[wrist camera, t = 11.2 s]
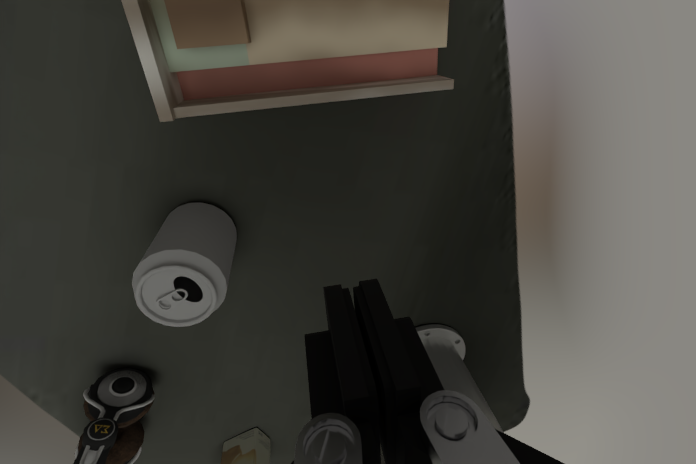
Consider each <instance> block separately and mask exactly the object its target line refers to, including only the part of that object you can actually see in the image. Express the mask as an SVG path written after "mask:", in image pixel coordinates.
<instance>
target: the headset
mask: <svg viewBox="0 0 696 464" xmlns="http://www.w3.org/2000/svg"><path fill="white" fill-rule="evenodd" d="M87 393H88V394H87ZM83 396H84V398H85V402H84V410H85V415H86V416H87V417H88V418H89V419H90V421H91V422H90V423H89V424H88V425H87V426H86V428H85V429H84V433H83V434H82V436H81V437H80V440H79V444H78V445H77V448H76V451H75V459H76V460H75V462H74V464H127V463H128V462H129V461H130V460H131V459H132V458H133V457H134V455H135V454H136V453H137V454H136V456H135V457H134V459H133V460H132V461H131V462H130V463H129V464H133V463H134V462H135V461H136V459H137V458H138V457H139V455H140V452H141V450H142V449H141V445H142V443H143V439H144V430H143V427H142V424H141V423H140V422H139V421H138V420H139V419H141V418H142V417H143V416H144V415H145V414H146V413H147V412H148V411H149V409H150V407H151V406H152V404H153V400H154V398H155V396H154V391H153V388H152V383H151V380H150V378H149V377H148V376H147V375H146V374H145V373H144V372H142V371H140V370H137V369H132V368H122V369H116V370H113V371H110V372H107V373H106V374H104V375H103V376H101V377H100V378H98V380H97V381H96V382H95V383H94V385H91V387H90V388H87V389H85V391H84V393H83Z"/></svg>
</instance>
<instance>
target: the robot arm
mask: <svg viewBox="0 0 696 464" xmlns="http://www.w3.org/2000/svg"><path fill="white" fill-rule="evenodd" d="M323 288H324V297H325V305H326V313H327V321H328V329H329V330H328V331H323V332H317V333H311V334H305V346H306V358H307V369H308V381H309V392H310V404H311V415H312V419H311V420H310V421H309V422H308V423H307V424H306V425H304V427H303V428H302V430H301V432H300V433H299V435H298V439H297V442H296V448H295V458H294V461H293V462H292V463H291V464H381V456H380V443H381V447H382V451H383V455H384V459H385V463H386V464H564V463H562V462H560V461H558V460H556V459H554V458H552V457H550V456H548V455H546V454H544V453H542V452H540V451H538V450H536V449H534V448H532V447H530V446H528V445H526V444H524V443H522V442H520V441H518V440H516V439H514V438H512V437H510V436H508V435H506V434H504V432H503V430H502V429H501V427H500V425H499V423H498V422H497V420H496V418H495V416H494V415H493V413H492V411H491V409H490V408H489V406H488V404H487V402H486V401H485V399H484V397H483V395H482V394H481V392H480V390H479V388H478V387H477V385H476V383H475V381H474V380H473V378H472V376H471V374H470V373H469V371H468V369H467V367H466V366H465V364H464V362H463V359H464V357H465V344H464V341H463V339H462V338H461V336H460V335H459V333H458V332H457V331H455V330H454V329H453V328H451V327H448V326H445V325H439V324H430V325H423V326H420V327H416V328H415V326H414V324H413V322H412V320H411V319H410V318H409V317H404V318H398V319H393V316H392V314H391V311H390V309H389V306H388V304H387V301H386V299H385V297H384V294H383V292H382V289H381V287H380V284H379V282H378V280H377V279H372V280H365V281H360V282H359V286H358V287H353V292H354V305H355V310H354V306H353V303H352V299H351V295H350V292H349V289H348V288H345V289H342V287H341V284H340V285H334V286H327V287H323Z"/></svg>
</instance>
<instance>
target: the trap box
mask: <svg viewBox="0 0 696 464" xmlns="http://www.w3.org/2000/svg"><path fill="white" fill-rule="evenodd" d="M121 1H122V4H123V7H124V10H125V13H126V16H127V19H128V23H129V26H130V29H131V32H132V35H133V38H134V41H135V45H136V48H137V51H138V54H139V57H140V60H141V63H142V66H143V70H144V73H145V76H146V79H147V82H148V85H149V88H150V92H151V95H152V98H153V101H154V104H155V107H156V110H157V114H158V117H159V120H160V122H165V121H173V120H175V119H176V118H182V117H192V116H201V115H211V114H220V113H230V112H239V111H248V110H258V109H267V108H277V107H286V106H296V105H305V104H315V103H324V102H334V101H343V100H353V99H362V98H372V97H381V96H391V95H400V94H410V93H419V92H429V91H438V90H448V89H453V87H454V79H451V78H447V77H443V76H439V75H437V58H438V48H442V47H447V30H448V11H449V0H244V3H245V8H246V14H247V20H248V25H249V31H250V37H251V43H247V44H235V45H223V46H210V47H198V48H186V49H177V47H176V43H175V39H174V36H173V32H172V28H171V24H170V21H169V17H168V13H167V9H166V6H165V2H164V0H121Z"/></svg>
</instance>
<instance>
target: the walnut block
mask: <svg viewBox="0 0 696 464" xmlns="http://www.w3.org/2000/svg"><path fill="white" fill-rule="evenodd" d="M164 2H165V6H166V9H167V13H168V17H169V21H170V24H171V28H172V32H173V36H174V39H175V43H176V47H177V49H186V48H198V47H210V46H223V45H235V44H247V43H251V37H250V31H249V25H248V20H247V14H246V8H245V3H244V0H164Z"/></svg>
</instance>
